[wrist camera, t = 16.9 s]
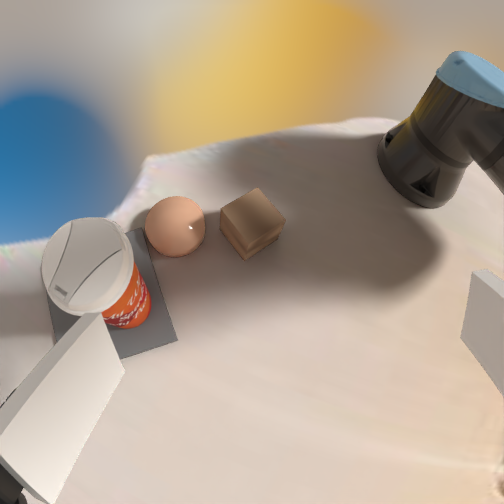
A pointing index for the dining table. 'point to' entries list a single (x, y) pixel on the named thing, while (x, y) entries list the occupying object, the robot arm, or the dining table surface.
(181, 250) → the tan rounded disc
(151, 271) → the mat
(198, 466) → the dining table surface
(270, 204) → the walnut block
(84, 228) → the paper cup
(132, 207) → the dining table surface
